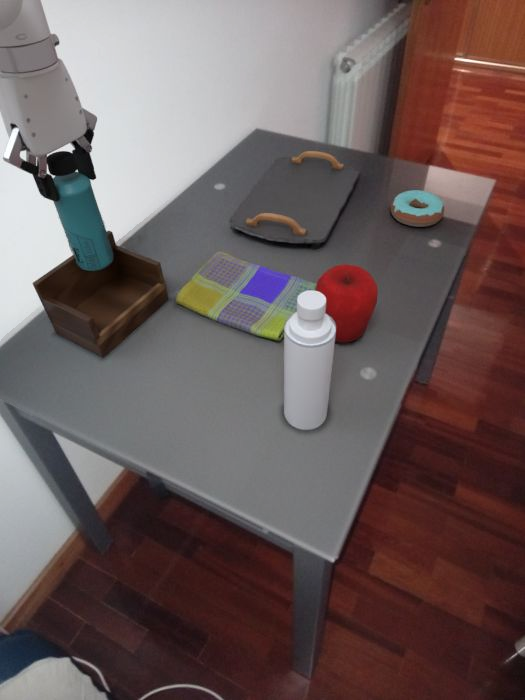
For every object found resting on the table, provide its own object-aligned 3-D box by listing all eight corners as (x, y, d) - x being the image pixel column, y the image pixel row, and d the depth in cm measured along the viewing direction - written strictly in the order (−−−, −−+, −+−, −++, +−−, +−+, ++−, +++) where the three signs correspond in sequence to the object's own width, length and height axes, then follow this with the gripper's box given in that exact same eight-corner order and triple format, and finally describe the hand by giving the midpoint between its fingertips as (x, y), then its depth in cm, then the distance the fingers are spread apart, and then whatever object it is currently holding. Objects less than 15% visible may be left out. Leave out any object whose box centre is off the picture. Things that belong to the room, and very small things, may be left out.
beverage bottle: (124, 261, 86) (92, 149, 71) (100, 283, 82) (61, 169, 67) (94, 252, 88) (57, 142, 74) (70, 273, 84) (25, 161, 69)
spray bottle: (322, 393, 79) (333, 269, 61) (330, 427, 75) (346, 304, 56) (281, 398, 79) (280, 274, 61) (287, 433, 74) (289, 311, 56)
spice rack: (103, 358, 86) (82, 307, 77) (56, 333, 91) (31, 283, 82) (168, 299, 96) (157, 248, 87) (123, 280, 101) (108, 230, 92)
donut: (447, 209, 115) (452, 193, 112) (434, 235, 108) (439, 219, 105) (398, 198, 119) (400, 183, 116) (382, 223, 112) (385, 207, 109)
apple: (369, 356, 84) (381, 295, 75) (310, 350, 86) (314, 290, 76) (370, 314, 92) (381, 254, 82) (315, 310, 93) (319, 250, 83)
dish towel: (276, 350, 86) (275, 338, 84) (169, 303, 96) (167, 292, 93) (322, 293, 96) (323, 282, 94) (222, 256, 105) (220, 245, 103)
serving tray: (280, 162, 134) (280, 139, 129) (364, 175, 128) (367, 151, 123) (221, 239, 110) (219, 215, 105) (321, 260, 103) (323, 235, 99)
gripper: (57, 33, 67) (94, 159, 80) (-56, 71, 58) (6, 208, 71) (97, 40, 65) (128, 169, 78) (-16, 82, 55) (41, 222, 68)
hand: (70, 186), depth 74 cm, fingers closed on beverage bottle, 6 cm apart
